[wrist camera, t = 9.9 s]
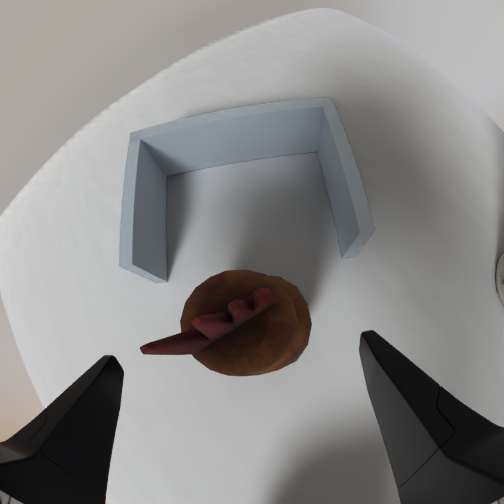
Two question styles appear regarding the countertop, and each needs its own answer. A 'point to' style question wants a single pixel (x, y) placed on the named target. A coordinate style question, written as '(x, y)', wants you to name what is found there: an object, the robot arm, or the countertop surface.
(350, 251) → the cubby
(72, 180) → the countertop surface
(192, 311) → the wooden figurine
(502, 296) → the spray can
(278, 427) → the countertop surface
